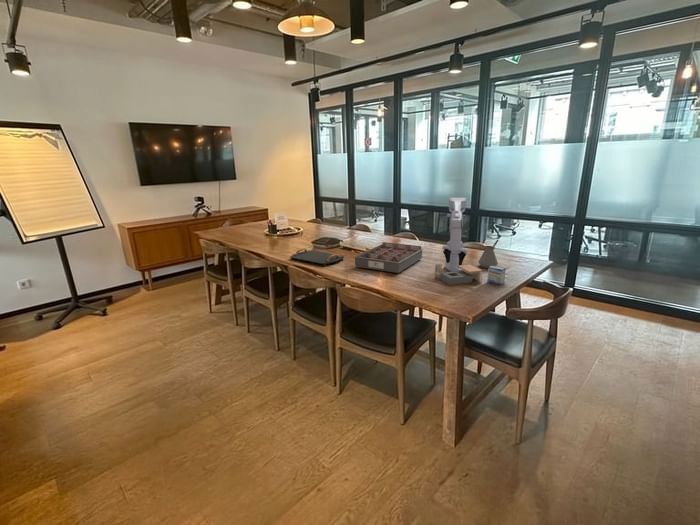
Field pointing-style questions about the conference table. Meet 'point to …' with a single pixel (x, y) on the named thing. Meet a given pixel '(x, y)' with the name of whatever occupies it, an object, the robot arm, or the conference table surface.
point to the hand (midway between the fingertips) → (454, 263)
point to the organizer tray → (389, 257)
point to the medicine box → (496, 275)
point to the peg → (438, 271)
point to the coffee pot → (488, 257)
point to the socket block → (456, 277)
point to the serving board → (316, 257)
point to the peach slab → (472, 271)
